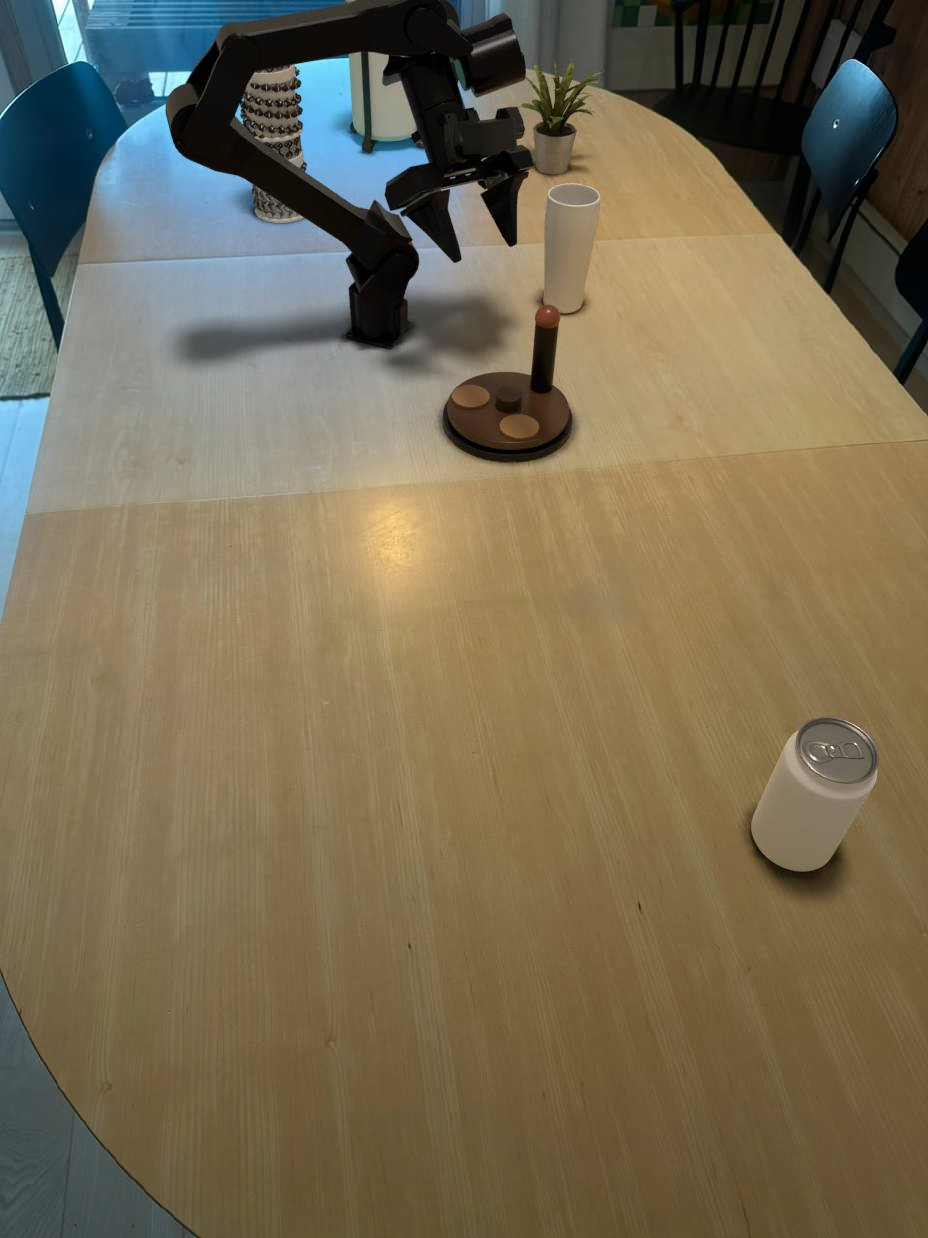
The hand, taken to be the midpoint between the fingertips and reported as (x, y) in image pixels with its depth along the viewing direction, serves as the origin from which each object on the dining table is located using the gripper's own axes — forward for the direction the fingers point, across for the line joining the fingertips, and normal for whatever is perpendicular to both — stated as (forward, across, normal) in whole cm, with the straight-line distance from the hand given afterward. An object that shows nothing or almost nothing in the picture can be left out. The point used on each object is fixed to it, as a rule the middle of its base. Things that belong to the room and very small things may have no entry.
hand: (486, 253), depth 110 cm
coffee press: (-29, +42, +53) cm, 74 cm away
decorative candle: (-20, +10, +48) cm, 53 cm away
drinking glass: (+8, +20, +10) cm, 24 cm away
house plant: (-13, +52, +30) cm, 61 cm away
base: (+18, -4, +1) cm, 19 cm away
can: (+53, -28, -39) cm, 72 cm away
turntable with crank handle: (+17, -5, 0) cm, 18 cm away
